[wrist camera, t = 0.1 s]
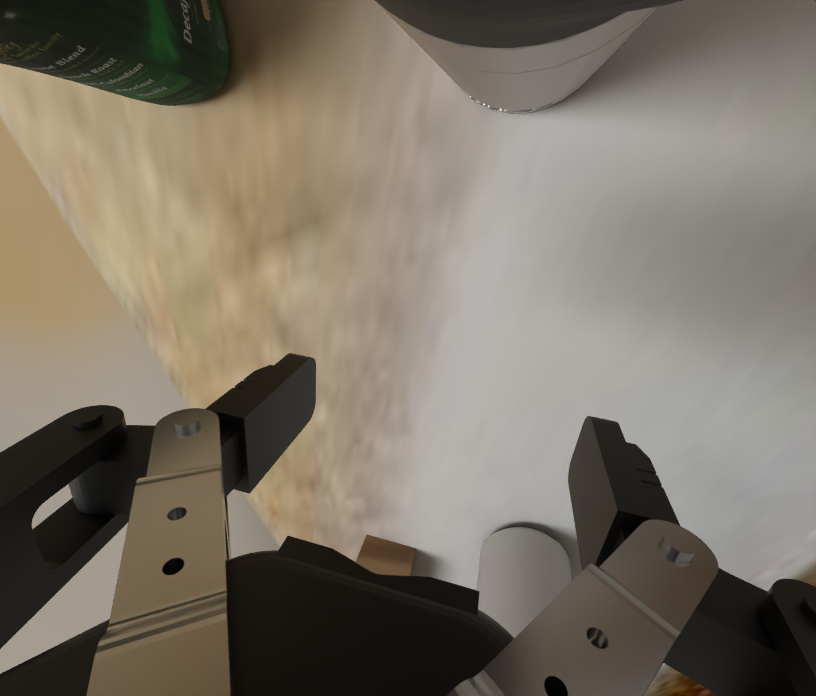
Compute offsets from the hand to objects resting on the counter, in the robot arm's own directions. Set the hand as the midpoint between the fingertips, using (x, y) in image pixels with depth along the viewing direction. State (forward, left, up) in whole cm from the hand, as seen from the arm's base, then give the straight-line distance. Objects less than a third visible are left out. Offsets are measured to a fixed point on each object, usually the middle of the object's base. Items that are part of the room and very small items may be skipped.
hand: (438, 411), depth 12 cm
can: (+25, +8, -17) cm, 31 cm away
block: (+31, -4, -17) cm, 35 cm away
